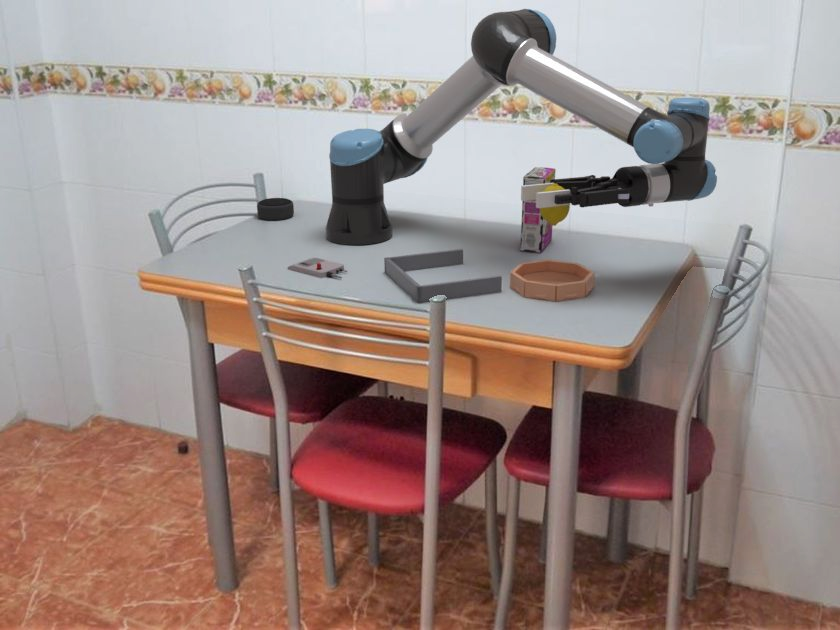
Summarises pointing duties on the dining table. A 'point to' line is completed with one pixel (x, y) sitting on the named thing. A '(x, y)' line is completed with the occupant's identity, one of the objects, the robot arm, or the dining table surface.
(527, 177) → the candy bar box
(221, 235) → the dining table surface
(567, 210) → the lemon
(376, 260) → the dining table surface
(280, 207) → the smart speaker
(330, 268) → the moisture meter
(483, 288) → the grey u-shaped fence
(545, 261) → the bowl
